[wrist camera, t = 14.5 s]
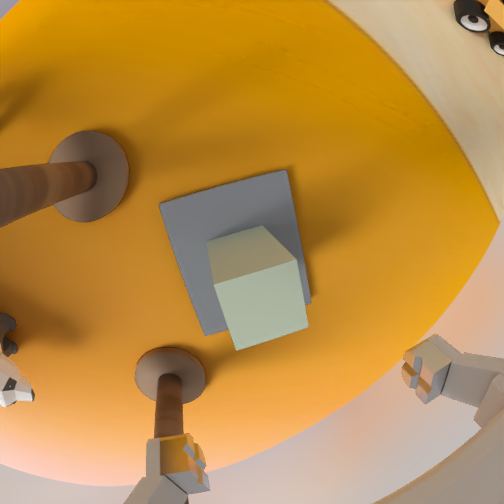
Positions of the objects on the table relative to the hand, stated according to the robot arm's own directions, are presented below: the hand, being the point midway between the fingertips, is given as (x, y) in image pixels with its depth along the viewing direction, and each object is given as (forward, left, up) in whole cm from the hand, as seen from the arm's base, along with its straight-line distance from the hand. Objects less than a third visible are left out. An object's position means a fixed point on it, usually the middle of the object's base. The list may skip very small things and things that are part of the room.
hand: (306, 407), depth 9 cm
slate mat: (0, 0, -16) cm, 16 cm away
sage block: (0, 0, -15) cm, 15 cm away
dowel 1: (-10, +10, -16) cm, 21 cm away
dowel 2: (-10, -10, -16) cm, 21 cm away
